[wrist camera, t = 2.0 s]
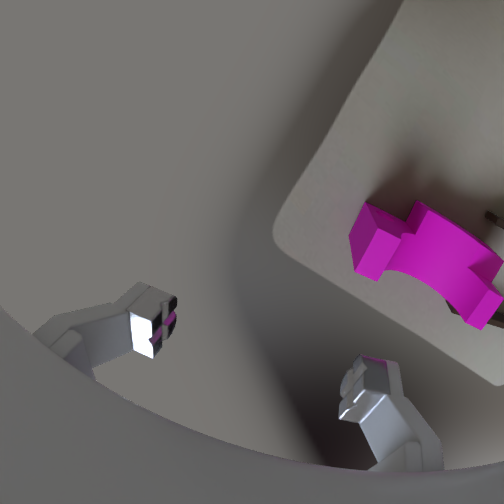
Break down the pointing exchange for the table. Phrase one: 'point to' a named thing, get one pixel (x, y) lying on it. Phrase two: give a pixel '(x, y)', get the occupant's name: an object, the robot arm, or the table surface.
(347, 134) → the table surface
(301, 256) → the table surface
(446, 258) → the toy block
